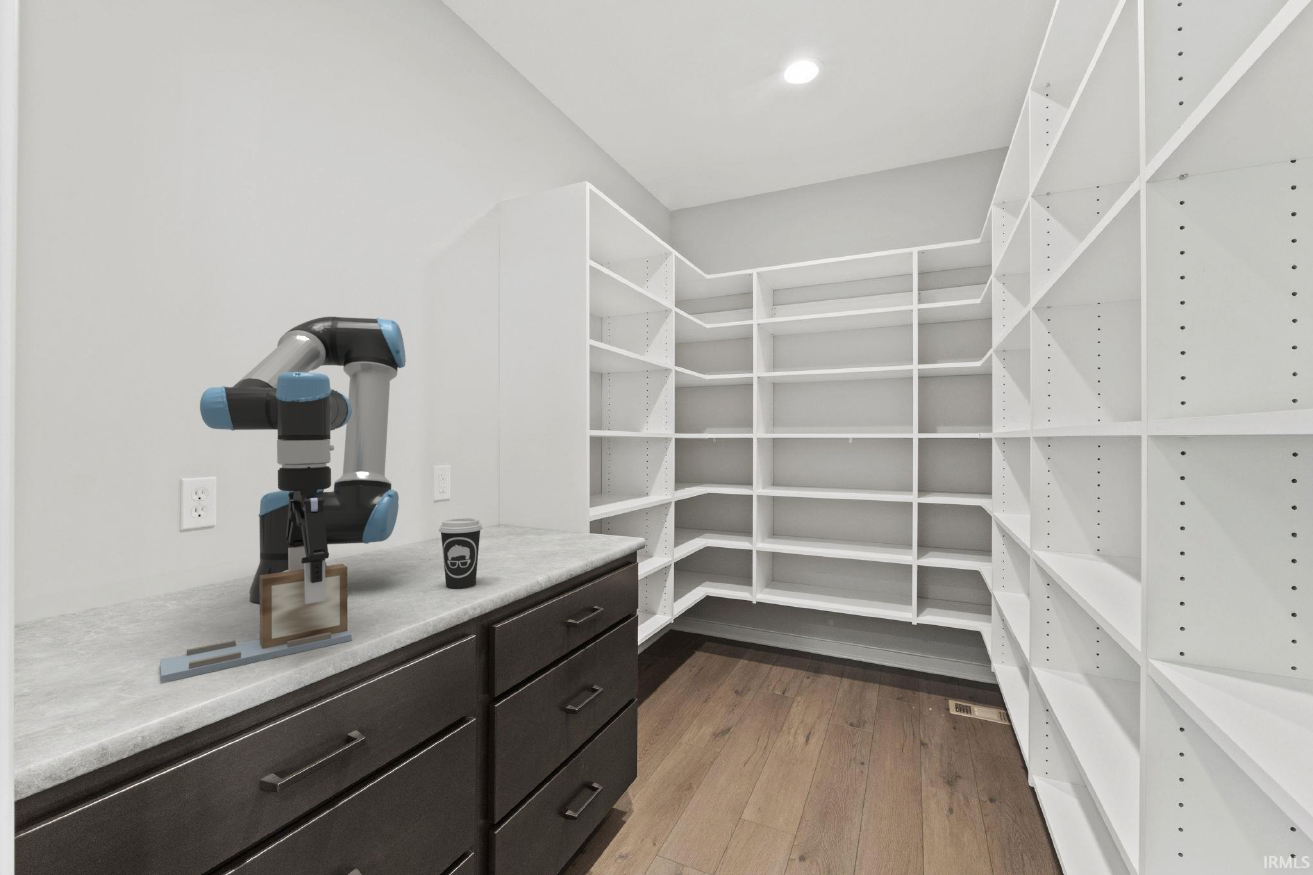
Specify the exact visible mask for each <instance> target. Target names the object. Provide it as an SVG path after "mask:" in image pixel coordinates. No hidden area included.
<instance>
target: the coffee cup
mask: <svg viewBox="0 0 1313 875" xmlns="http://www.w3.org/2000/svg"><path fill="white" fill-rule="evenodd" d="M438 528H439V529H438V532H439V533H440V536H441V545H442V546H441V547H442V555H443V556H442V558H443V566H444V567H443V568H444V578H445V588H447V589H450V590H451V589H453V590H462V589H468V588H472V587H474V586H476V585H477V584H476V583H477V574H478V573H477V572H478V560H479V549H480V540H481V539H480V537H481V531H482V530H483V525H482V524H481V523H480V520H479V519H478V518H473V517H472V518H470V517H460V518H450V519H449V518H448V519H445V520H443V521H442V523H441V525H440V526H439V527H438Z"/></svg>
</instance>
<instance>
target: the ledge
mask: <svg viewBox="0 0 1313 875" xmlns="http://www.w3.org/2000/svg"><path fill="white" fill-rule="evenodd" d="M350 641H353V640H352V633H351V632H350V631H349V630H348V631H344V632H340V633H335V634H331V633H330V632H329V633H324V634H320V635H315V636H310V637H305V638H301V639H296V640H291V641H287V644H283V645H278V646H274V647H269V648H264V649H262V647H261V645H260V638H258V639H254V640H248V641H244V642H238V643H237V640H236V639H233V640H226V641H220V642H217V643H212V644H211V643H210V644H206V645H202V646H197V647H196V646H195V647H191V648H186V653H184V654H180V655H174V656H170V657H165V658H160V664H159V666H160V681H161V682H160V683H161V684H163V683H167V682H172V681H176V680H181V679H185V678H190V677H194V676H199V675H204V674H208V673H211V672H216V671H217V672H218V671H222V670H226V669H230V668H235V667H239V666H243V665H249V664H252V663H253V664H254V663H258V662H262V661H266V660H270V659H275V658H279V657H284V656H287V655H292V654H296V653H297V654H298V653H303V652H306V651H311V650H316V649H319V648H323V647H328V646H332V645H338V644H342V643H347V642H350Z"/></svg>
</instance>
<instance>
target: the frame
mask: <svg viewBox="0 0 1313 875" xmlns="http://www.w3.org/2000/svg"><path fill="white" fill-rule="evenodd" d="M259 577H260V603H259V639H260V645H261V647H262V649H264V648H269V647H274V646H278V645H283V644H287V641H291V640H296V639H301V638H305V637H310V636H315V635H320V634H324V633H329V632H330V633H331V634H335V633H340V632H344V631H348V632H349V630H348V566H347V565H345V564H343V563H337V564H331V565H327V566H325V601H320V602H315V603H309V604H305V576H304V569H301V570H294V571H287V572H280V573H272V574H265V575H259Z"/></svg>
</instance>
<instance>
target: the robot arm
mask: <svg viewBox="0 0 1313 875" xmlns="http://www.w3.org/2000/svg"><path fill="white" fill-rule="evenodd" d="M405 350H406V349H405V344H404V338H403V334H402V331H401V328H400V325H399V324H398V323H397V322H396V321H395V320H393V319H382V318H379V317H376V318H366V317H363V318H362V317H341V316H321V317H317V318H314V319H311V320H308V321H304V322H302V323H300V324H298V325H296V326H293V327H292V328H291V329H289V330H287V331H286V332H284V334H283V335H281V337H280V338H279V339H278V341H277V347H276V348H275V349H274V350H273V351H272V352H270V353H269V354H268V355H267V356H266V357H264V358H263V359H262V360H261V361H260V362H259V363H258V364H257V365H255V366H254V368H252V369H251V370H250V371H249V372H247V374H245V375H244V376H243V377H242V378H241V379H240V380H238V381H237V382H236V384H234V385H233V386H231V387H230V386H225V385H223V386H218V387H217V386H216V387H215V386H214V387H213V386H212V387H208V388H206V390H205V391H204V392H203V393H202V395H201V397H200V400H199V402H200V403H199V412H200V415H201V419H202V421H203V422H204V424H205V425H206V426H207V427H209V428H210V429H212V430H213V429H215V430H228V431H243V430H245V431H247V430H248V431H252V430H253V431H256V430H257V431H258V430H259V431H261V430H263V431H264V430H266V431H267V430H269V431H270V430H274V431H275V430H277V440H276V453H277V454H276V458H277V460H276V462H277V464H278V465H279V466H281V467H279V469H278V470H277V488H278V491H272V492H268V493H266V494H264V495H262V497H261V499H260V502H259V513H258V518H259V563H258V566H257V569H256V571H255V574H254V577H253V581H252V582H251V585H250V588H249V601H250V602H252V603H256V604H260V577H259V575H265V574H272V573H280V572H283V571H286V570H289V571H294V570H301V569H304V576H305V604H309V603H315V602H320V601H325V566H328V565H327V564H328V563H326V559H329V558H330V557H329V556H330V552H329V548H328V545H343V544H346V545H347V544H366V545H367V544H370V543H377V542H383V541H384V542H385V541H386V540H388V539H389V538H390V537H391V536H392V533H393V531H394V529H395V526H396V522H397V519H398V518H397V517H398V513H399V507H400V506H399V500H400V499H399V493H398V491H397V490H394V489H392V482H391V481H390V480H389V479H388V478H387V477H386V460H387V459H386V458H387V440H388V438H387V437H388V424H389V407H390V406H389V404H390V390H391V389H390V385H391V381H392V380H393V379H395V378H396V377H397V376H398V370H399V369H402V368H404V367H405V366H406V361H407V359H406V351H405ZM321 366H339V367H342V366H343V367H342V368H343V372H344V373H345V374H346V375H347V376H348V377H349V383H348V384H349V386H348V397H347V396H345V395H344V394H343V393H341V392H339V391H338V390H335V389H333V388H331V381H330V377H329V376H328V375H326V374H323V373H319V372H318V373H316V372H311V371H314V370H317V369H319V368H320V367H321ZM345 425H346V427H345V428H346V429H345V440H344V441H345V442H344V454H343V465H342V466H343V468H342V475H341V477H339V478H338V479H337V480H336V481H334V484H333V491H325V490H326V489H329V488H331V486H332V468H331V467H330V466H328V465H327V464H329V463H331V451H334V450H335V446H334V445H333V444H331V431H335V430H336V429H340V428H341V427H344V426H345Z"/></svg>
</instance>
